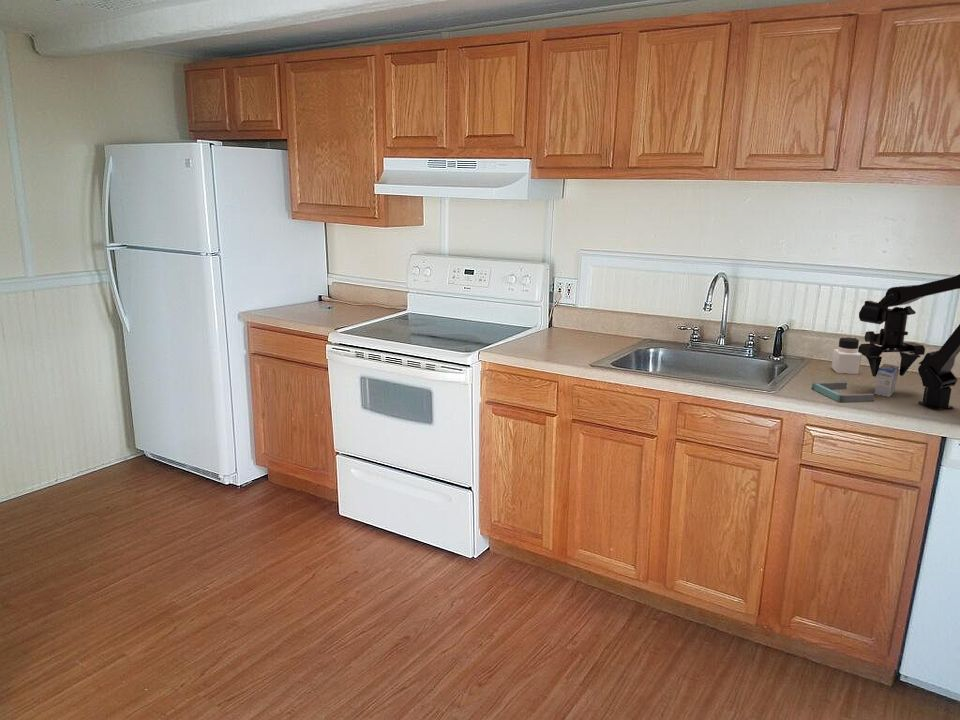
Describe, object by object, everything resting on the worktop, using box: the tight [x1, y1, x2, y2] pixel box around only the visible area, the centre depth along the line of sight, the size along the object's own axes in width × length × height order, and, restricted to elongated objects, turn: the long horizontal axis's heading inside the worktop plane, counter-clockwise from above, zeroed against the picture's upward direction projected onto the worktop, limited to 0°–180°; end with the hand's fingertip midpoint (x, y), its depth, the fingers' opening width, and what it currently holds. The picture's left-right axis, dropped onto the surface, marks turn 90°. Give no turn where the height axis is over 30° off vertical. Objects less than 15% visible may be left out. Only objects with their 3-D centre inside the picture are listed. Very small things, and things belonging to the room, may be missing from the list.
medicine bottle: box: [831, 336, 862, 375], centre depth 247 cm, size 7×7×12 cm
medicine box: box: [874, 363, 900, 398], centre depth 222 cm, size 8×4×9 cm, turn 141°
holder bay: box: [811, 381, 875, 403], centre depth 221 cm, size 14×11×2 cm
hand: (887, 376), depth 222 cm, fingers open, 9 cm apart
